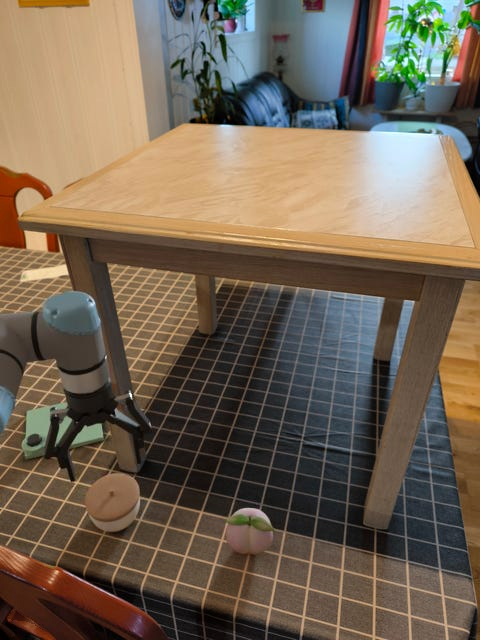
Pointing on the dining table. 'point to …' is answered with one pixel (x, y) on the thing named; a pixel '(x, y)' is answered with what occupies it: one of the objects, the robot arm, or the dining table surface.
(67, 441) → the robot arm
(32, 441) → the button
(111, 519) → the trinket box
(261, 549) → the decorative fruit
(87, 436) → the scale
